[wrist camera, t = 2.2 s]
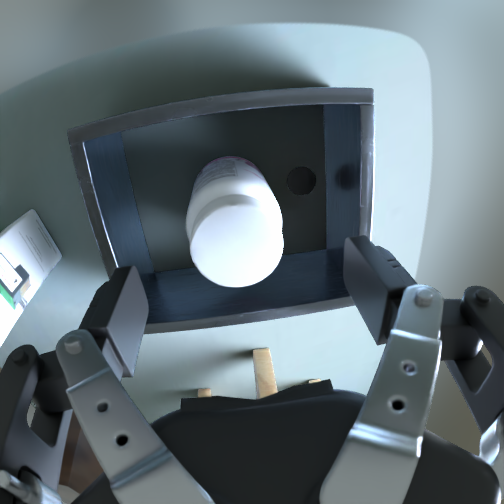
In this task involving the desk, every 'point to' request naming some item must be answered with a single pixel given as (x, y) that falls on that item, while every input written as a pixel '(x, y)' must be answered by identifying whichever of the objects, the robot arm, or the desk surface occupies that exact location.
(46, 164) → the desk surface
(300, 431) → the robot arm
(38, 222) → the ink box
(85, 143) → the storage box
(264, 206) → the pill bottle
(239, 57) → the desk surface
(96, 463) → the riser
